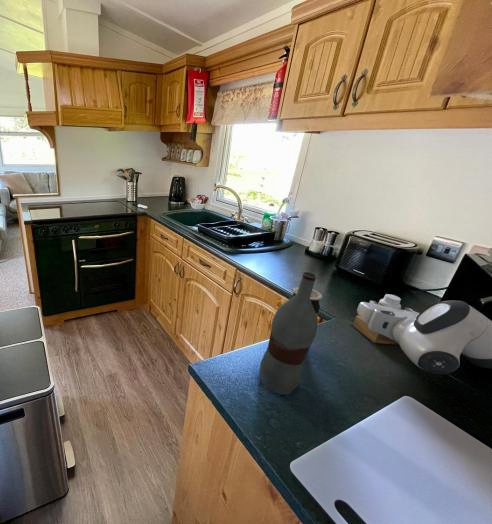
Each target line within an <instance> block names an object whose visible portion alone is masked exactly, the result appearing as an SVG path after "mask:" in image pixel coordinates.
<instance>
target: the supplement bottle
mask: <svg viewBox="0 0 492 524" xmlns="http://www.w3.org/2000/svg"><path fill="white" fill-rule="evenodd" d="M401 301H402V299H401V298H400V297H399V296H397V295H395V294H389V293H386V294H385V295H384V297H383V298H380V299H379V301H378V302H377V305H381V306H386V307H391V308H396V309H401V310H402V305H401V304H400V303H401Z"/></svg>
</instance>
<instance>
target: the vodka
mask: <svg viewBox="0 0 492 524" xmlns="http://www.w3.org/2000/svg"><path fill="white" fill-rule="evenodd" d="M317 278H318V276H317V275H316V274H315V273H313V272H309V271H304V272H303V273H302V276H301V279H300V283H299V286H298V287H299V289H298V292H297V294H296V295H295V296H293V297H292V298H291V299H289V298H288V300H286V301H285V302H284V303H282V304H281V305H280V306H279V307H278V308H277V310H276V312H275V313H274V315H273V318H272V321H271V327H270V334H269V340H268V345H267V347H266V350H265V351H264V354H263V356H262V358H261V361H260V364H259V372H258V373H259V379H260V382H261V384H262V385H263V386H264V387H265V388H266V389H267V390H269V391H270V392H272V393H274V394H278V395H282V396H283V395H284V396H287V395H290V394H292V392H293V391H295V390H296V388H297V387H298V384H299V383H300V381H301V379H302V378H301V377H302V373H303V365H304V361H305V359H306V357H307V354H308V352H309V350H310V348H311V346H312V344H313V342H314V341H315V339H316V336H317V330H318V315H316V313H315V310H314V308H313V305H312V303H311V300H310V296H311V292H312V289H313V290H314V286H315V281H316V279H317Z"/></svg>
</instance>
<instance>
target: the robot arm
mask: <svg viewBox="0 0 492 524" xmlns="http://www.w3.org/2000/svg"><path fill="white" fill-rule="evenodd" d="M356 312H357V315H358V316H360V317H361V319H362V320H363V321H364V322H365V323H367V324H369V325H368V328H369V329H370V330H371V331H374V332H376V333H379V334H382V335H384V336H386V337H388V338H390V339H392V340H394V341H396V342H397V343H398V344H397V345H398V346H399V347H400V349H401V350H402V352H403V353H404V354H405V355H406V357H407V358H408V359H409V360H410V361H411V363H413V364H414V365H415V366H416V367H418V368H419V369H421V370H423V371H424V372H428V373H432V374H436V375H437V374H438V375H445V374H450V373H453V372H455V371H457V369H458V368H460V364H461V359H460V357H461V355H462V356H463V357H464V358H465V359H467V360H468V361H469V362H470V363H471V364H473V365H475V366H476V367H479V368H482V369H483V368H484V369H492V320H491V319H490V318H488V317H487V316H486V315H484V314H483V313H482V312H480V311H479V310H477V309H476V308H475V307H473V306H471V305H469V304H468V303H467V302H466V301H462V300H454V299H452V300H442V301H438V302H435V303H432V304H430V305H428V306H427V307H426V308H424V309H423V310H421V311H420V312H418V311H415V310H413V309H412V308H410V307H404V309H402V308H401V309H396V308H391V307H386V306H381V305H378V302H377V301H375V300H369V302H366V301H361V302H360V303H359V304H358V306H357V309H356Z"/></svg>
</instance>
